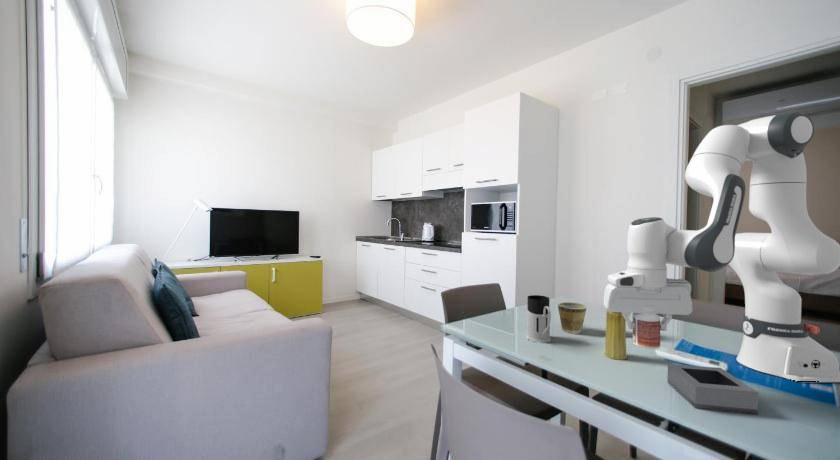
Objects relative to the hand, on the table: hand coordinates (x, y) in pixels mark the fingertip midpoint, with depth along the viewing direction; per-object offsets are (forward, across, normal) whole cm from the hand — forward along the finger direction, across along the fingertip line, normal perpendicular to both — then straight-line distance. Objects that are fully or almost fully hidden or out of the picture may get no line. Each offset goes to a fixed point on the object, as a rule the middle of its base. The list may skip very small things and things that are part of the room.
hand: (646, 329), depth 89 cm
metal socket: (+14, -11, +7) cm, 19 cm away
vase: (+14, +3, -15) cm, 20 cm away
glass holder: (+14, +24, -24) cm, 36 cm away
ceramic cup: (+14, +11, -39) cm, 42 cm away
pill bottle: (+5, 0, 0) cm, 5 cm away
